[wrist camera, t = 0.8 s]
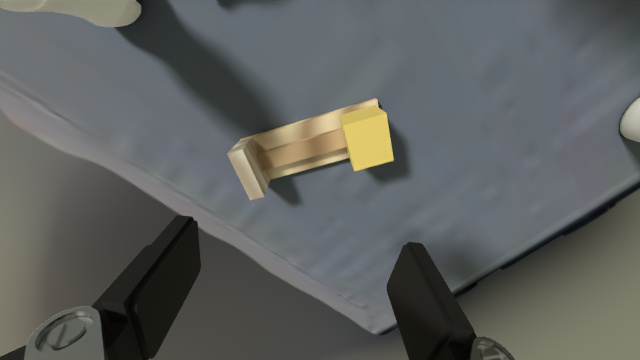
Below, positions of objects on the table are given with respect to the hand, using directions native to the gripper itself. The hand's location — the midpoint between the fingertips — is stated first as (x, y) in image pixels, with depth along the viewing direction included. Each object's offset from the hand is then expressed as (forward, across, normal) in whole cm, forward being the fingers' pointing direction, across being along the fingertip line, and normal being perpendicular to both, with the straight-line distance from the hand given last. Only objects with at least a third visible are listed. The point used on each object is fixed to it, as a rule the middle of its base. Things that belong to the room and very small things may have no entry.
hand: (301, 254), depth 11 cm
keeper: (+24, -7, 0) cm, 25 cm away
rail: (+26, -1, +3) cm, 26 cm away
